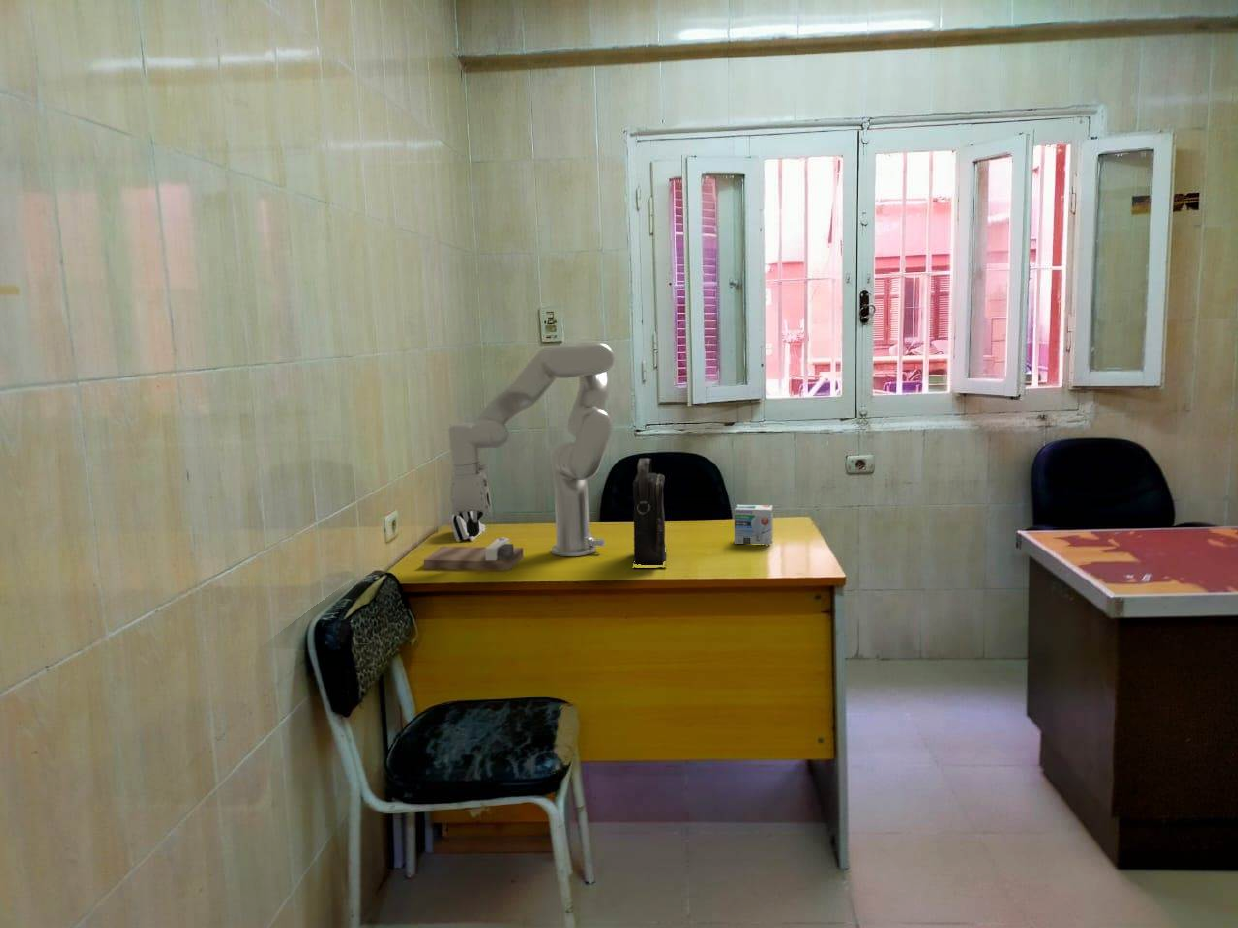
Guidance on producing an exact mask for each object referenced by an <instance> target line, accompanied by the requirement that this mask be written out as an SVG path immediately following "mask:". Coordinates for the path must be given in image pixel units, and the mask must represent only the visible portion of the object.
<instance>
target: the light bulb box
mask: <svg viewBox="0 0 1238 928" xmlns="http://www.w3.org/2000/svg"><path fill="white" fill-rule="evenodd" d="M773 507H774V506H773V504H767V505H764V504H736V507H735V508H734V545H735V544H761V545H762V544H764V545H770V544H771V545H772V543H771V542H773V541H772V539H773V537H774V536H773V528H774V527H773V526H774V525H773V522H774V519H773V517H774V515H773V514H774V513H773V511H774V508H773Z"/></svg>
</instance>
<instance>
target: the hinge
mask: <svg viewBox="0 0 1238 928" xmlns="http://www.w3.org/2000/svg"><path fill="white" fill-rule="evenodd" d="M470 513H471V517H472V520H473V511H470ZM449 525H450V528H451V530H452V533H453V536H454V539H455V540H456V543H459V542H461V541H465V540H468V539H469V540H470V542H471V541H473V540H474V539H475V538H476V537H477V536H478V535H480V534H481V533H482V531H484V532H485V529H486V530H487V527H486V525H485V524H484V523H481V522H480V521H479V530H480V531H479V533H478V535H477V536H475V537H473V536H472V537H469V533H467V525H466V522H465V521H464V520H463V519H462V518H461V517H460V516H456V515H453V514H452V513H451V516H450V518H449ZM485 527H486V528H485ZM482 534H483V533H482ZM482 534H481V535H482ZM481 535H480V536H481ZM475 540H476V539H475ZM475 540H474V541H475ZM474 541H473V542H474Z"/></svg>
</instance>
